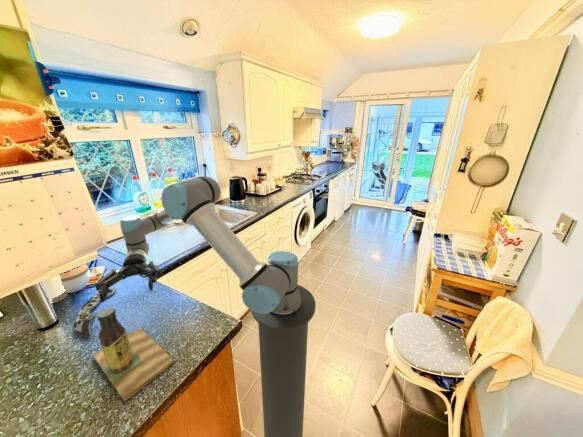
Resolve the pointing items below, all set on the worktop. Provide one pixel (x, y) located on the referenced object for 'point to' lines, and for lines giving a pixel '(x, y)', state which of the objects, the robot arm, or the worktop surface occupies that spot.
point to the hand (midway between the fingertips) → (126, 292)
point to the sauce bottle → (114, 341)
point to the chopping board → (137, 365)
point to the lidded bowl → (75, 279)
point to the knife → (88, 315)
